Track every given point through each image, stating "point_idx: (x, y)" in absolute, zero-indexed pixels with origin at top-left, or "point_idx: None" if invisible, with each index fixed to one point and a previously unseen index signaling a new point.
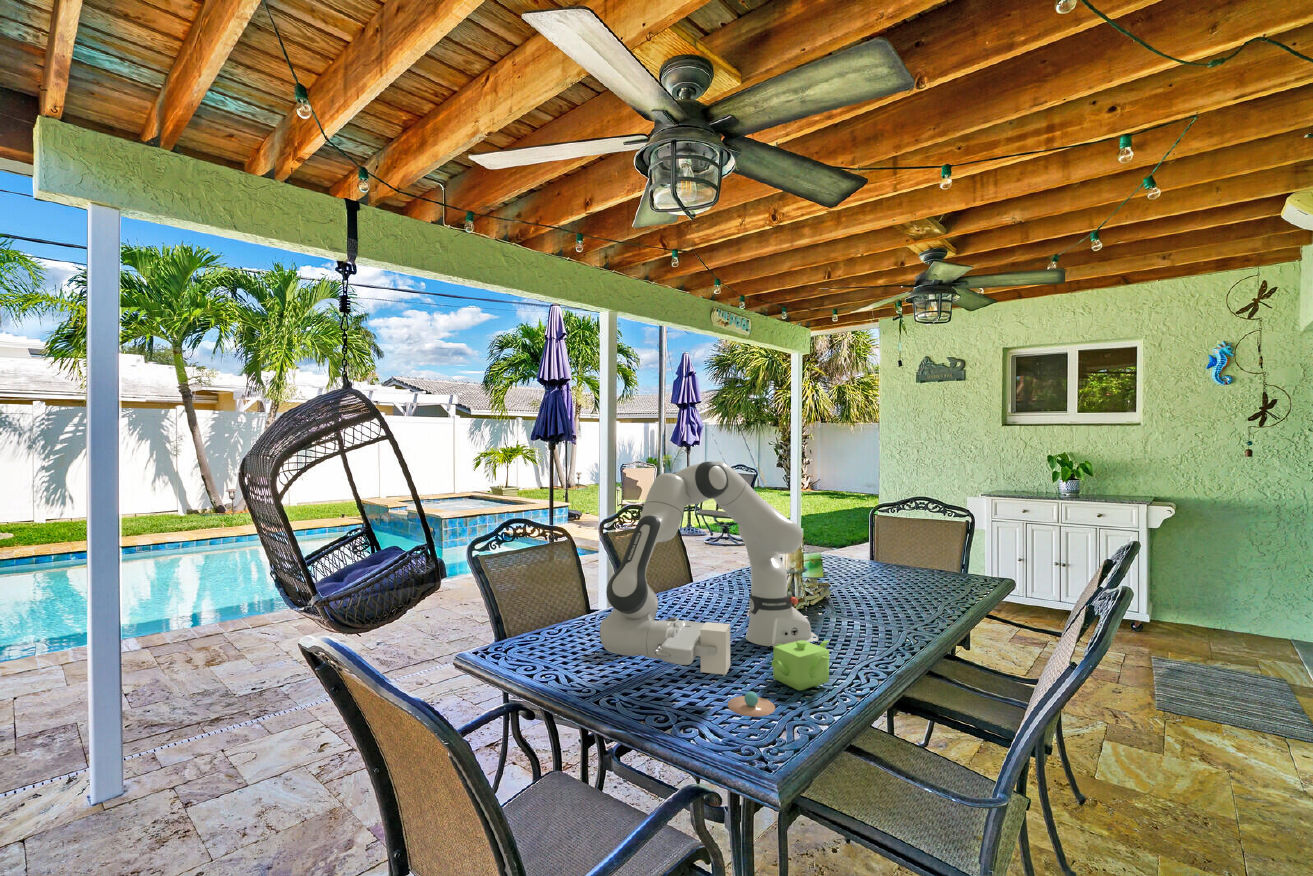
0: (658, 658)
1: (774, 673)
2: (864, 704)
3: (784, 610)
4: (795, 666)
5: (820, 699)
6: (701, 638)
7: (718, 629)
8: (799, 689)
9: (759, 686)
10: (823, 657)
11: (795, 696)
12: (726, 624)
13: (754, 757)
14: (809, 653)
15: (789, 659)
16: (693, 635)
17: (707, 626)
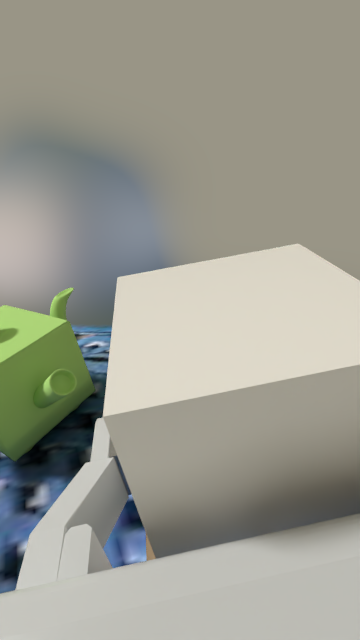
0: None
1: (12, 446)
2: (107, 327)
3: None
4: (67, 352)
5: (104, 370)
6: None
7: (289, 269)
8: (93, 387)
9: (45, 502)
10: (64, 295)
11: (101, 405)
12: (134, 283)
13: None
14: (35, 316)
15: (44, 355)
16: (353, 636)
17: (278, 337)
